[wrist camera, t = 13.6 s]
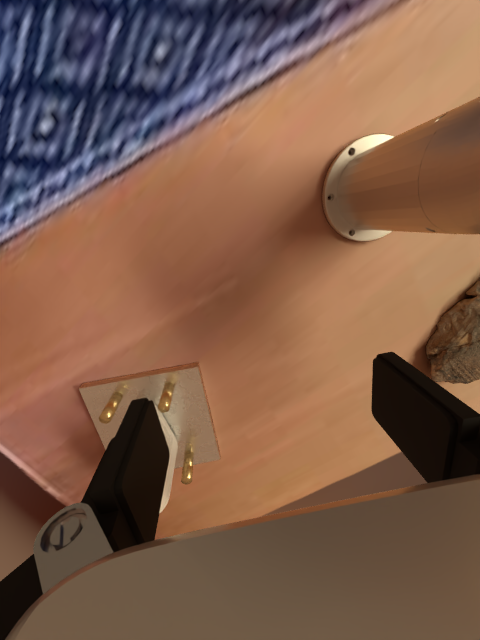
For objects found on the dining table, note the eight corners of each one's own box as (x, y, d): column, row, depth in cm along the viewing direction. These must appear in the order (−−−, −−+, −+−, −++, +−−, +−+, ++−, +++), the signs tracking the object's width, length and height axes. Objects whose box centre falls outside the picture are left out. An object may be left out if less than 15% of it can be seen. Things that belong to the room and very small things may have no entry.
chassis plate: (198, 362, 42) (196, 385, 36) (220, 452, 48) (221, 485, 42) (83, 383, 41) (60, 410, 35) (121, 471, 48) (107, 508, 42)
